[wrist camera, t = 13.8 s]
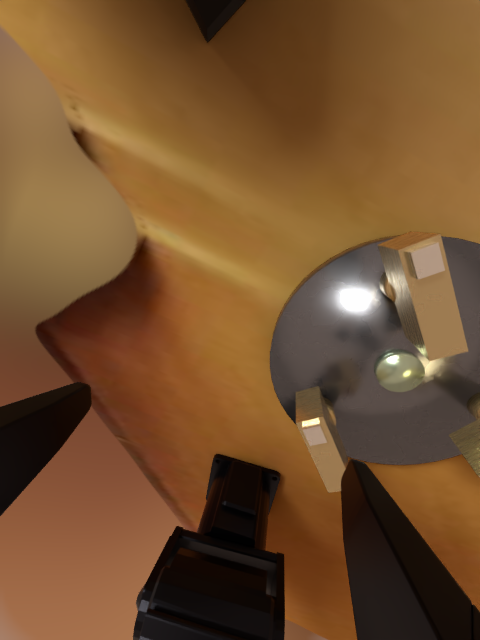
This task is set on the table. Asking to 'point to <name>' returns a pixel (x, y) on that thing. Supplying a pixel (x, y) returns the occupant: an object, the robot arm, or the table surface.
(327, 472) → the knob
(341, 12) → the table surface
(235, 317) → the table surface
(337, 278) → the plate
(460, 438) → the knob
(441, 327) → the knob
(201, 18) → the speaker
